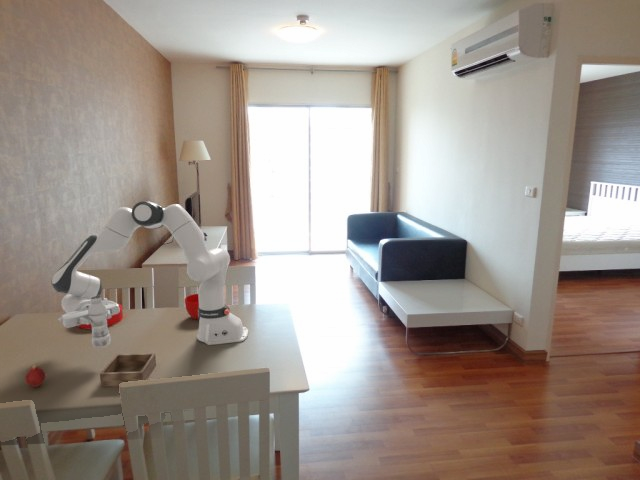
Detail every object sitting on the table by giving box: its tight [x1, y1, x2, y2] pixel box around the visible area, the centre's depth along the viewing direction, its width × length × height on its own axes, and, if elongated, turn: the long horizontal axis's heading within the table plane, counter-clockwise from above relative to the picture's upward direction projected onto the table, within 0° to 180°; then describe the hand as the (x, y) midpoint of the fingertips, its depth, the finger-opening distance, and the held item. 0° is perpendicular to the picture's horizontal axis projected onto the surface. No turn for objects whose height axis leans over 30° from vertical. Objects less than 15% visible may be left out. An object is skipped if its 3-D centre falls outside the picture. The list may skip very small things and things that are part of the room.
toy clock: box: [77, 302, 124, 330], centre depth 207 cm, size 20×6×20 cm
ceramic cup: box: [184, 293, 199, 320], centre depth 213 cm, size 13×17×10 cm
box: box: [99, 352, 157, 387], centre depth 157 cm, size 15×15×5 cm
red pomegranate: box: [24, 365, 46, 388], centre depth 149 cm, size 6×6×8 cm
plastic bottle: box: [88, 295, 112, 349], centre depth 163 cm, size 6×7×20 cm
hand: (99, 319), depth 162 cm, fingers closed on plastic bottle, 6 cm apart
